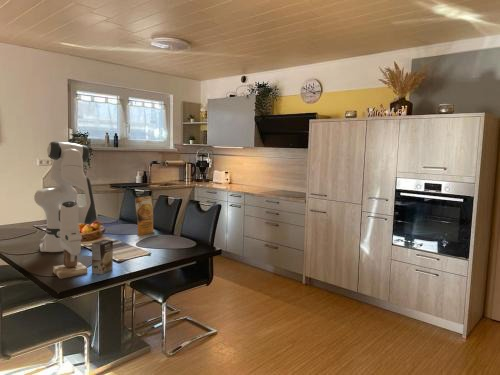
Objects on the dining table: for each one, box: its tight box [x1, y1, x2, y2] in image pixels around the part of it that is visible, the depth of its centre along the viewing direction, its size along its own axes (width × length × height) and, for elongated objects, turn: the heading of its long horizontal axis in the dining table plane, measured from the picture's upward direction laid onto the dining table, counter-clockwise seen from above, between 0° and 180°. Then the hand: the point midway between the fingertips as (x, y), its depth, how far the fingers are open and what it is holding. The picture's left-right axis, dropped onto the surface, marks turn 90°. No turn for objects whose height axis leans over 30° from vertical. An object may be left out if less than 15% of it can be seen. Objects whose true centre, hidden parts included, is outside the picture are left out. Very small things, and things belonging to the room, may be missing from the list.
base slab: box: [52, 261, 88, 279], centre depth 193 cm, size 12×13×3 cm
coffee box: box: [91, 239, 114, 275], centre depth 197 cm, size 9×6×16 cm
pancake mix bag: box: [134, 195, 154, 236], centre depth 279 cm, size 7×19×28 cm, turn 151°
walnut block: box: [62, 250, 78, 267], centre depth 192 cm, size 5×5×8 cm
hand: (70, 259), depth 193 cm, fingers closed on walnut block, 5 cm apart
